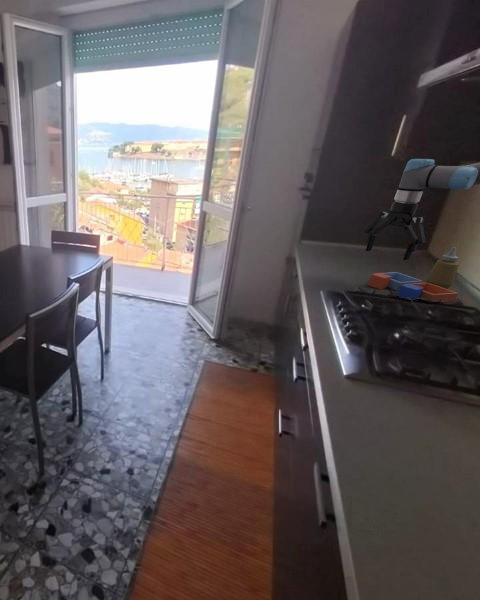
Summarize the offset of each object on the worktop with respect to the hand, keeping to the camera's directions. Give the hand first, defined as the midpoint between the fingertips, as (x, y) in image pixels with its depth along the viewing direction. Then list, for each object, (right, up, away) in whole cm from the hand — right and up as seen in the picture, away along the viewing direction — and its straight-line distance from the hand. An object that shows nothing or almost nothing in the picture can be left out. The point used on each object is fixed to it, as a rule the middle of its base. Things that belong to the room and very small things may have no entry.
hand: (386, 255), depth 146 cm
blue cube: (+3, -18, -6) cm, 19 cm away
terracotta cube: (+1, -13, +6) cm, 14 cm away
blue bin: (+10, -12, +7) cm, 17 cm away
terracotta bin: (+12, -17, -5) cm, 22 cm away
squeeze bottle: (+23, -14, +2) cm, 27 cm away
